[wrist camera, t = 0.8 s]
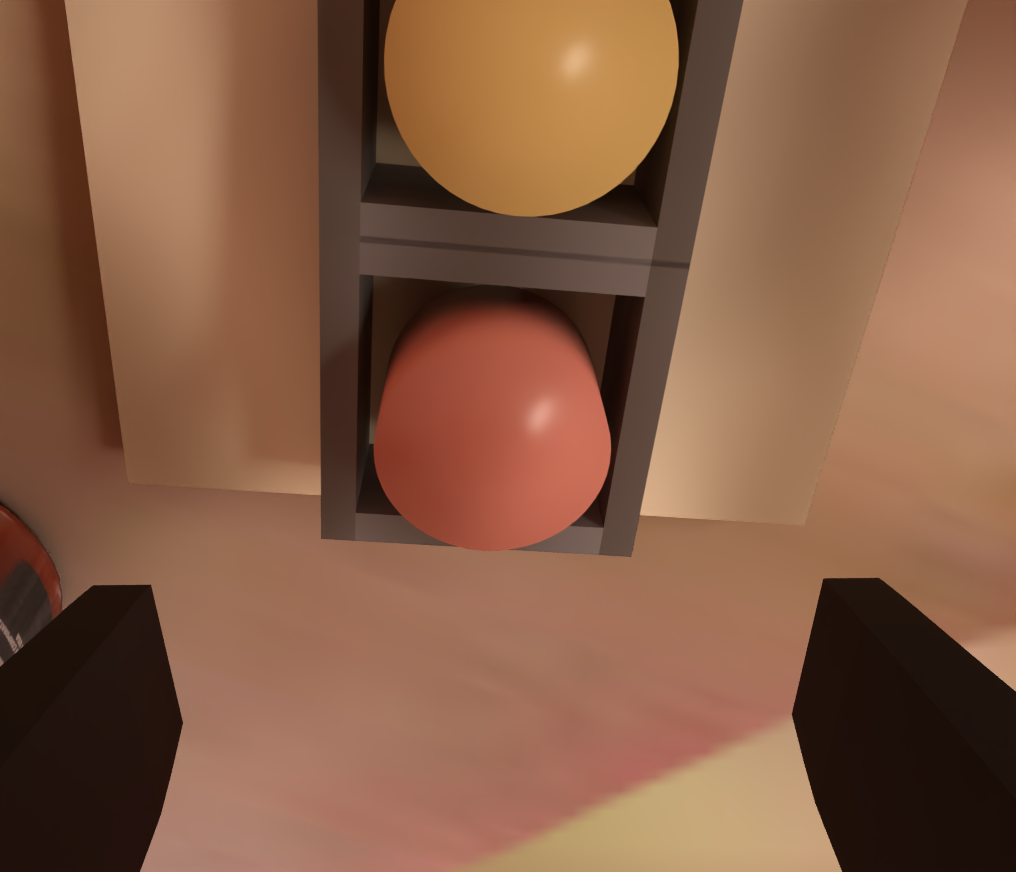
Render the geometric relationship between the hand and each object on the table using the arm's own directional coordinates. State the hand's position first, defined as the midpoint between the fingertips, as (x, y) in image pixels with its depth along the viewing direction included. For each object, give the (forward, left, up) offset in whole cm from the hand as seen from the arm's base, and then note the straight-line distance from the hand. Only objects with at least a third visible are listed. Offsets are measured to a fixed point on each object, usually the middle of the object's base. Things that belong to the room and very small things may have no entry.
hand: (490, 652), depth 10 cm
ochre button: (0, -5, -7) cm, 9 cm away
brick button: (0, 0, -7) cm, 7 cm away
